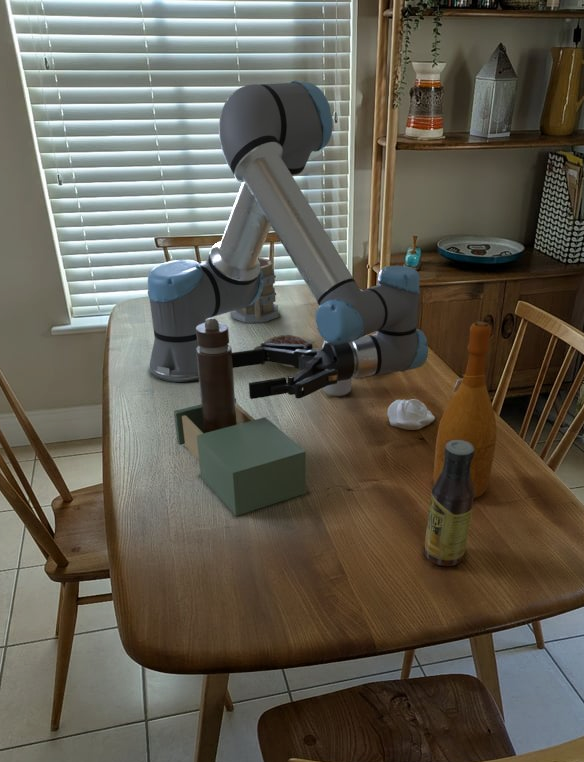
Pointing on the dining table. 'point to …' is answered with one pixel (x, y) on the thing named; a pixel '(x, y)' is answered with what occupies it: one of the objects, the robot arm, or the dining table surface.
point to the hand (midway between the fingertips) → (238, 375)
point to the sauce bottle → (451, 506)
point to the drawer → (198, 425)
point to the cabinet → (252, 465)
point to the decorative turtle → (287, 341)
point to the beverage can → (338, 386)
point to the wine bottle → (471, 413)
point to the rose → (409, 414)
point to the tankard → (261, 299)
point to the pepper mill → (215, 375)
